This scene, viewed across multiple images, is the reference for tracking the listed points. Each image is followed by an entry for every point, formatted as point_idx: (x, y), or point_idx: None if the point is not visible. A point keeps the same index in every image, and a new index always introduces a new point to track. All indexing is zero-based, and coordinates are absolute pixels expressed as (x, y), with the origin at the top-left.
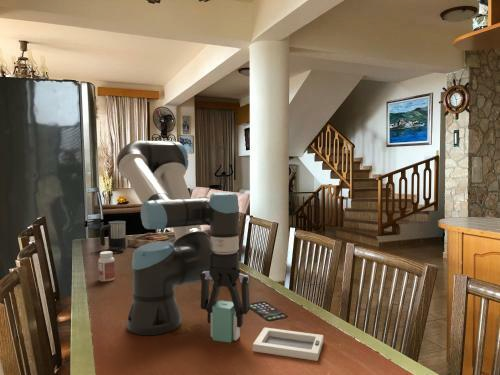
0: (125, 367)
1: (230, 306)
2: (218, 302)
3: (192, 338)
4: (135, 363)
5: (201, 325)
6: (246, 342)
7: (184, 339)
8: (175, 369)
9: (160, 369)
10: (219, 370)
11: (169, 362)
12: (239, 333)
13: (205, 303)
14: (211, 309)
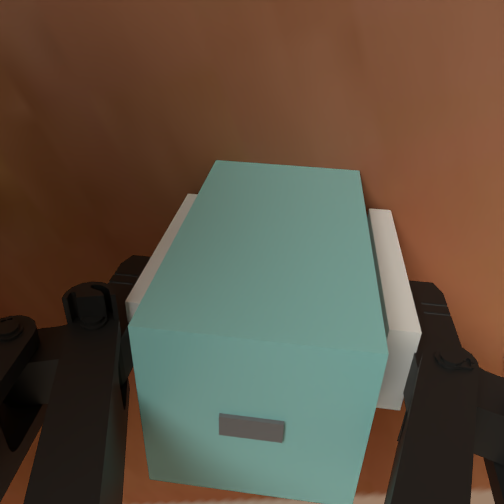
0: (14, 498)
1: (337, 464)
2: (150, 385)
3: (90, 279)
4: (23, 480)
5: (17, 71)
6: (452, 269)
7: (56, 297)
8: (184, 499)
9: (133, 501)
10: (356, 495)
11: (133, 468)
12: (392, 223)
13: (33, 425)
14: (128, 396)
